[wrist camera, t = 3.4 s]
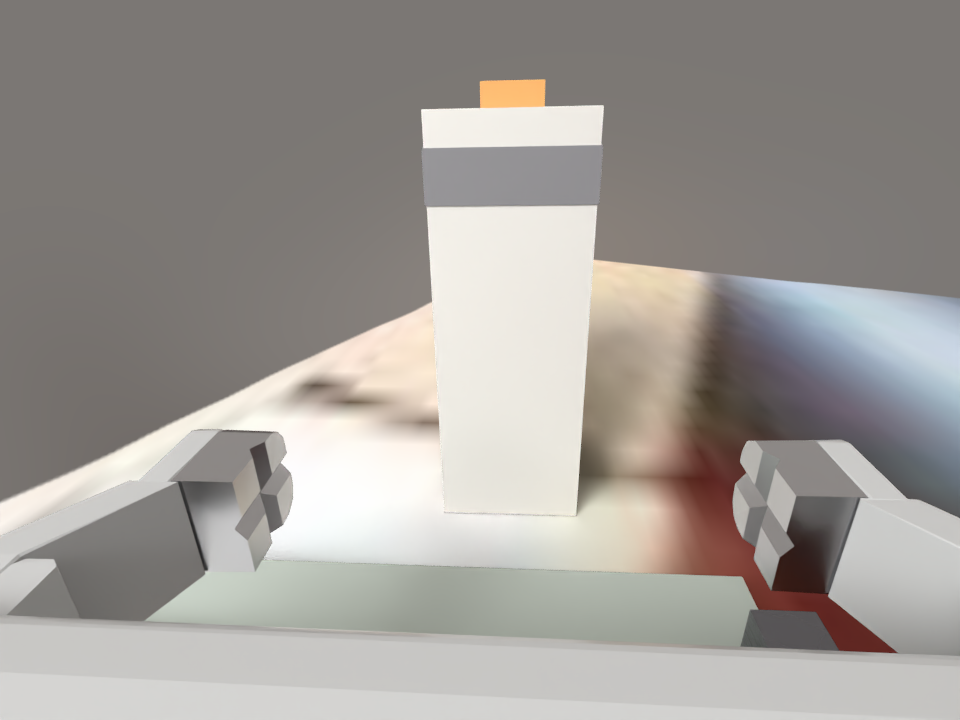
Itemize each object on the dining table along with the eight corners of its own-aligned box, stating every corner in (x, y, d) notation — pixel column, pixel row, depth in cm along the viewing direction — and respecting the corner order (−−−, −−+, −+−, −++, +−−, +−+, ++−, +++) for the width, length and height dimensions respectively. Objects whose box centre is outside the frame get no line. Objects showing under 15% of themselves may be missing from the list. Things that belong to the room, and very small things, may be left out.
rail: (801, 656, 13) (815, 611, 13) (950, 937, 9) (984, 890, 8) (-69, 617, 15) (-93, 576, 14) (-330, 838, 10) (-383, 792, 10)
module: (577, 516, 20) (608, 72, 14) (442, 513, 21) (417, 76, 15) (563, 420, 27) (580, 86, 21) (460, 419, 27) (448, 90, 21)
